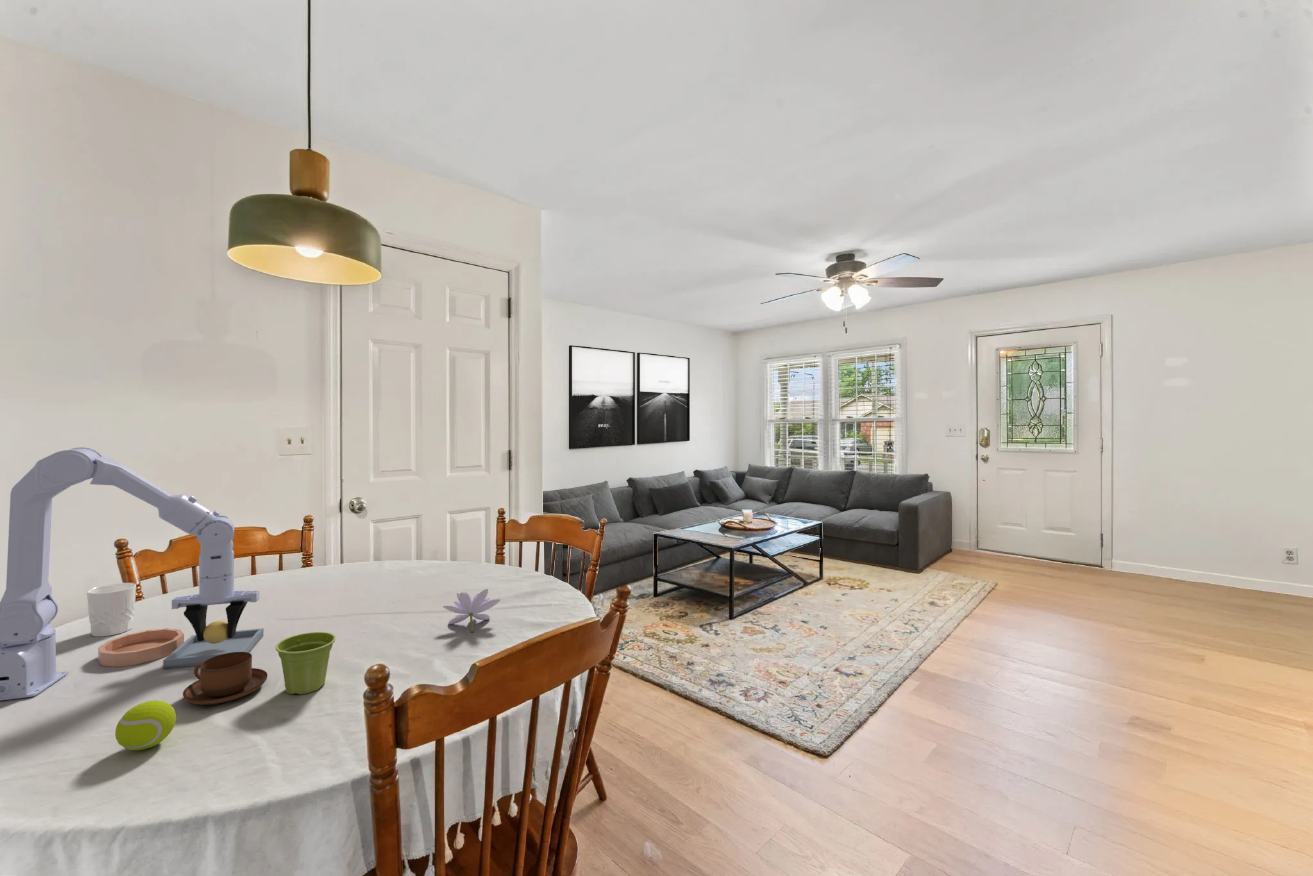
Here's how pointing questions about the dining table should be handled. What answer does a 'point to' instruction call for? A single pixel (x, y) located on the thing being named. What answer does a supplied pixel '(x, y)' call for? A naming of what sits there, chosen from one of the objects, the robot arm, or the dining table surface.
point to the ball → (216, 632)
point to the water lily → (471, 607)
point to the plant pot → (305, 660)
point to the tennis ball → (145, 725)
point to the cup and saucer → (224, 679)
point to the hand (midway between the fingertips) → (216, 638)
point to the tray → (211, 648)
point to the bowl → (140, 647)
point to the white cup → (111, 608)
